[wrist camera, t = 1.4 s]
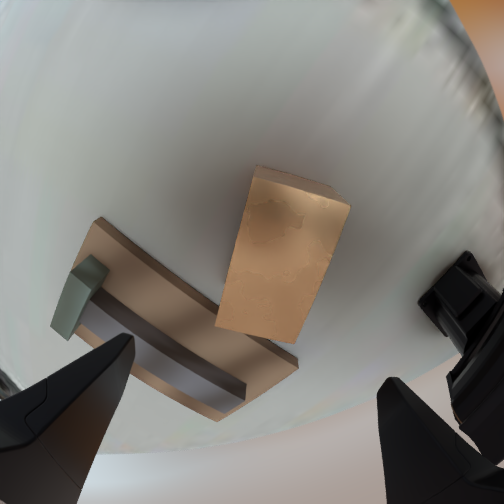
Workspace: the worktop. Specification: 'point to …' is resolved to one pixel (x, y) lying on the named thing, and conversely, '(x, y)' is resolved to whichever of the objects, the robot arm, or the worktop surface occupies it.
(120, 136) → the worktop surface
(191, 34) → the worktop surface
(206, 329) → the rail board
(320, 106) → the worktop surface
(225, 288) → the block
